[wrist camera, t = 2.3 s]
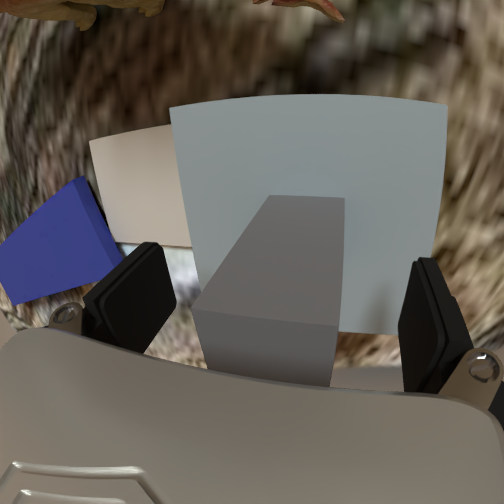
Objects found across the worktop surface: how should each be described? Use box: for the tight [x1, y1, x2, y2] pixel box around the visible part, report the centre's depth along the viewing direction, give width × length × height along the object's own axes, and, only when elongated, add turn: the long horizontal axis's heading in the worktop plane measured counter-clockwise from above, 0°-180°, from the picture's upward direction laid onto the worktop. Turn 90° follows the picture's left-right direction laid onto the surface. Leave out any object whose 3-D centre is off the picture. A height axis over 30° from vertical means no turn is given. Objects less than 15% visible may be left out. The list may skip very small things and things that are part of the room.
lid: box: [169, 94, 447, 387], centre depth 11 cm, size 12×12×9 cm
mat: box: [89, 124, 192, 247], centre depth 23 cm, size 10×10×1 cm
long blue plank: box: [0, 176, 123, 306], centre depth 32 cm, size 34×3×10 cm
